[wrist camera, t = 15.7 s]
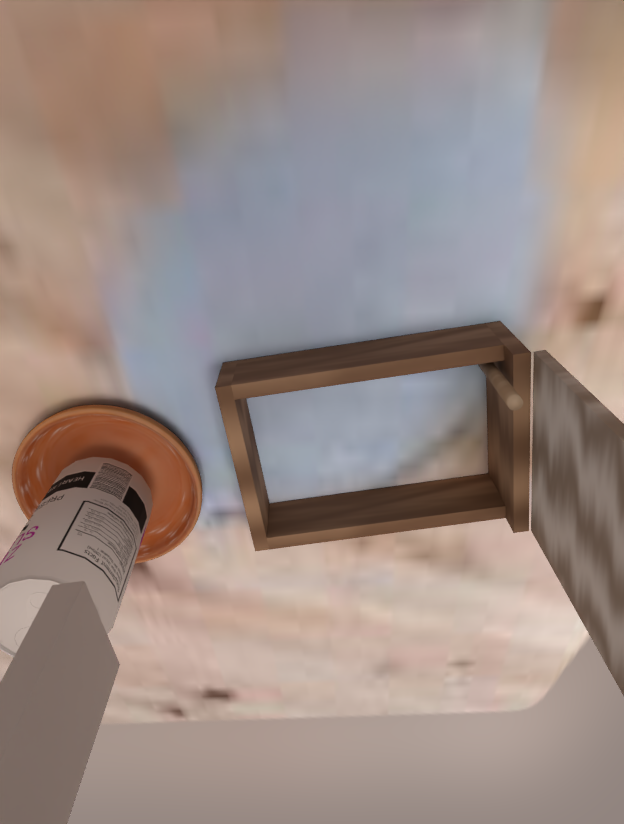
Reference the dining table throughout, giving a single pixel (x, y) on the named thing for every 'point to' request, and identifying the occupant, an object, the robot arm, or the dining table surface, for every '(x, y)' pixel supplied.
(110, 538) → the supplement can
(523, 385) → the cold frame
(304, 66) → the dining table surface
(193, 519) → the saucer
